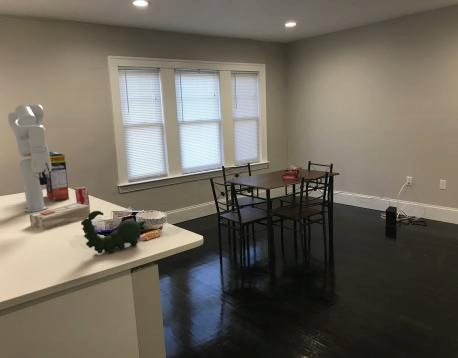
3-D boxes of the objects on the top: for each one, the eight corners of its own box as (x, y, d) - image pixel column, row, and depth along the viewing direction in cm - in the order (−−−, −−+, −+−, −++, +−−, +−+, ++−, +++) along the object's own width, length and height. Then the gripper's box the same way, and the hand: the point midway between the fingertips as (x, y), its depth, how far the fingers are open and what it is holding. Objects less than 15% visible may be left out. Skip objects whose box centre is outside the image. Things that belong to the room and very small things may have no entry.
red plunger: (41, 220, 192) (40, 212, 192) (50, 217, 196) (49, 210, 196) (46, 221, 190) (45, 213, 189) (55, 218, 193) (54, 211, 193)
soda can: (85, 209, 220) (83, 188, 218) (75, 209, 221) (72, 188, 219) (92, 206, 227) (89, 186, 224) (81, 206, 228) (79, 186, 226)
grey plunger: (66, 214, 204) (65, 207, 203) (74, 211, 208) (73, 205, 207) (71, 215, 201) (70, 208, 200) (79, 212, 205) (78, 205, 204)
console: (31, 225, 193) (29, 214, 192) (76, 213, 213) (74, 203, 212) (45, 229, 185) (43, 217, 184) (90, 215, 205) (89, 205, 204)
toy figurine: (94, 264, 141) (153, 242, 155) (83, 217, 136) (145, 199, 150) (87, 257, 148) (144, 237, 162) (76, 213, 144) (136, 196, 158)
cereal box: (70, 199, 252) (65, 152, 247) (52, 201, 246) (46, 154, 241) (62, 194, 274) (58, 151, 269) (46, 196, 268) (41, 152, 263)
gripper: (24, 150, 191) (29, 184, 195) (39, 151, 182) (44, 187, 186) (38, 148, 197) (43, 181, 200) (53, 149, 188) (58, 184, 192)
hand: (43, 184), depth 193 cm, fingers closed
